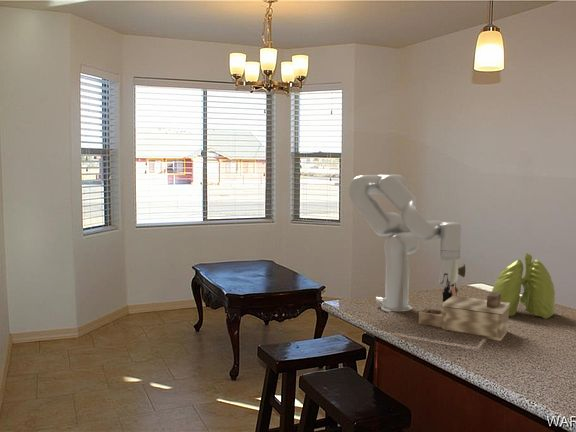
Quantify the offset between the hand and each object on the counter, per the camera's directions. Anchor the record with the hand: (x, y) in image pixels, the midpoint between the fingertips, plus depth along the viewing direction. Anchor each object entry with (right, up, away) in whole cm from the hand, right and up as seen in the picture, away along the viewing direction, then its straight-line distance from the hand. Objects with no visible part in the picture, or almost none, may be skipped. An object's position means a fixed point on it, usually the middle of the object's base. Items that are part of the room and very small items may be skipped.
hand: (448, 300), depth 222 cm
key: (+2, -4, -1) cm, 5 cm away
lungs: (+33, -7, +12) cm, 35 cm away
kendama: (+10, -5, +32) cm, 34 cm away
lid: (+5, 0, -16) cm, 17 cm away
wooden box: (+1, -9, -13) cm, 15 cm away
